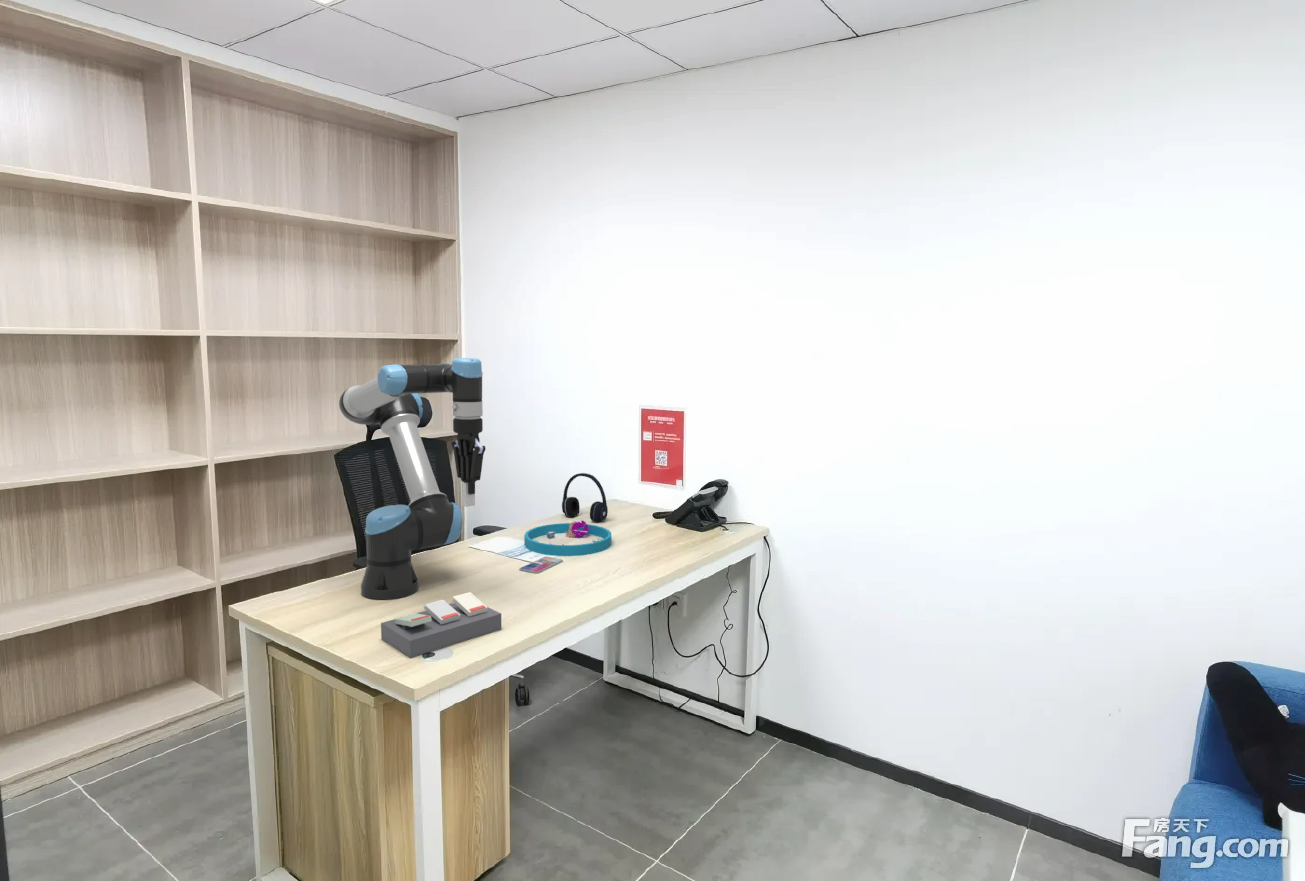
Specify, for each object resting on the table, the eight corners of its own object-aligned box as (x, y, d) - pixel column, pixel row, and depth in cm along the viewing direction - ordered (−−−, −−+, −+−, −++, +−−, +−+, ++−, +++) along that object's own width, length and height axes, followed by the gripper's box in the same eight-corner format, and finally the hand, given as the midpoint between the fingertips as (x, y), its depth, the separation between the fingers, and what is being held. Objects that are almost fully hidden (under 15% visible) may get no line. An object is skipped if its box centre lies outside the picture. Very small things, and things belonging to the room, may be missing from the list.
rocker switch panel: (371, 633, 177) (371, 614, 177) (460, 608, 194) (459, 591, 194) (410, 657, 164) (409, 637, 164) (501, 629, 181) (501, 610, 181)
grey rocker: (424, 608, 178) (424, 603, 177) (442, 603, 181) (443, 598, 181) (441, 624, 173) (441, 619, 172) (460, 619, 176) (460, 614, 176)
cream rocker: (451, 601, 183) (452, 596, 183) (469, 596, 187) (470, 591, 186) (469, 616, 178) (469, 611, 178) (486, 611, 181) (487, 606, 181)
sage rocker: (395, 623, 172) (394, 617, 172) (415, 618, 176) (414, 612, 176) (411, 626, 167) (410, 620, 167) (431, 621, 170) (431, 615, 170)
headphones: (559, 517, 294) (559, 471, 291) (570, 513, 300) (570, 469, 297) (599, 524, 283) (599, 478, 281) (609, 521, 289) (610, 475, 286)
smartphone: (564, 559, 237) (537, 572, 223) (564, 562, 237) (537, 575, 223) (545, 555, 240) (517, 568, 226) (545, 558, 240) (517, 571, 227)
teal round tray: (619, 536, 269) (619, 520, 268) (599, 560, 240) (599, 542, 239) (540, 531, 274) (540, 515, 273) (511, 553, 245) (511, 536, 244)
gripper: (441, 416, 195) (443, 503, 198) (468, 420, 186) (470, 512, 189) (466, 414, 200) (468, 499, 203) (494, 418, 191) (494, 507, 194)
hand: (469, 505), depth 196 cm, fingers closed
